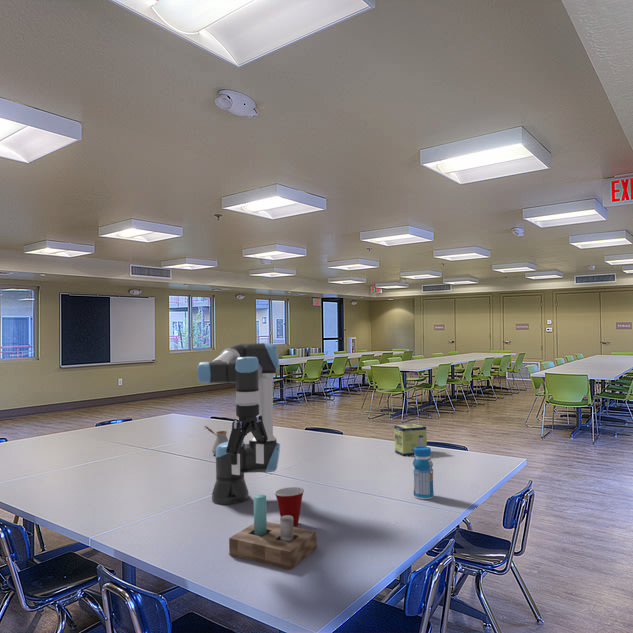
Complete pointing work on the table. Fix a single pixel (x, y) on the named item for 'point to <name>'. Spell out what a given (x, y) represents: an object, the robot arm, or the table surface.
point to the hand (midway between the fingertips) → (248, 468)
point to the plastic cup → (290, 502)
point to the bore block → (274, 544)
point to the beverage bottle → (423, 473)
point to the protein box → (409, 438)
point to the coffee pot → (218, 439)
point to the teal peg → (260, 515)
